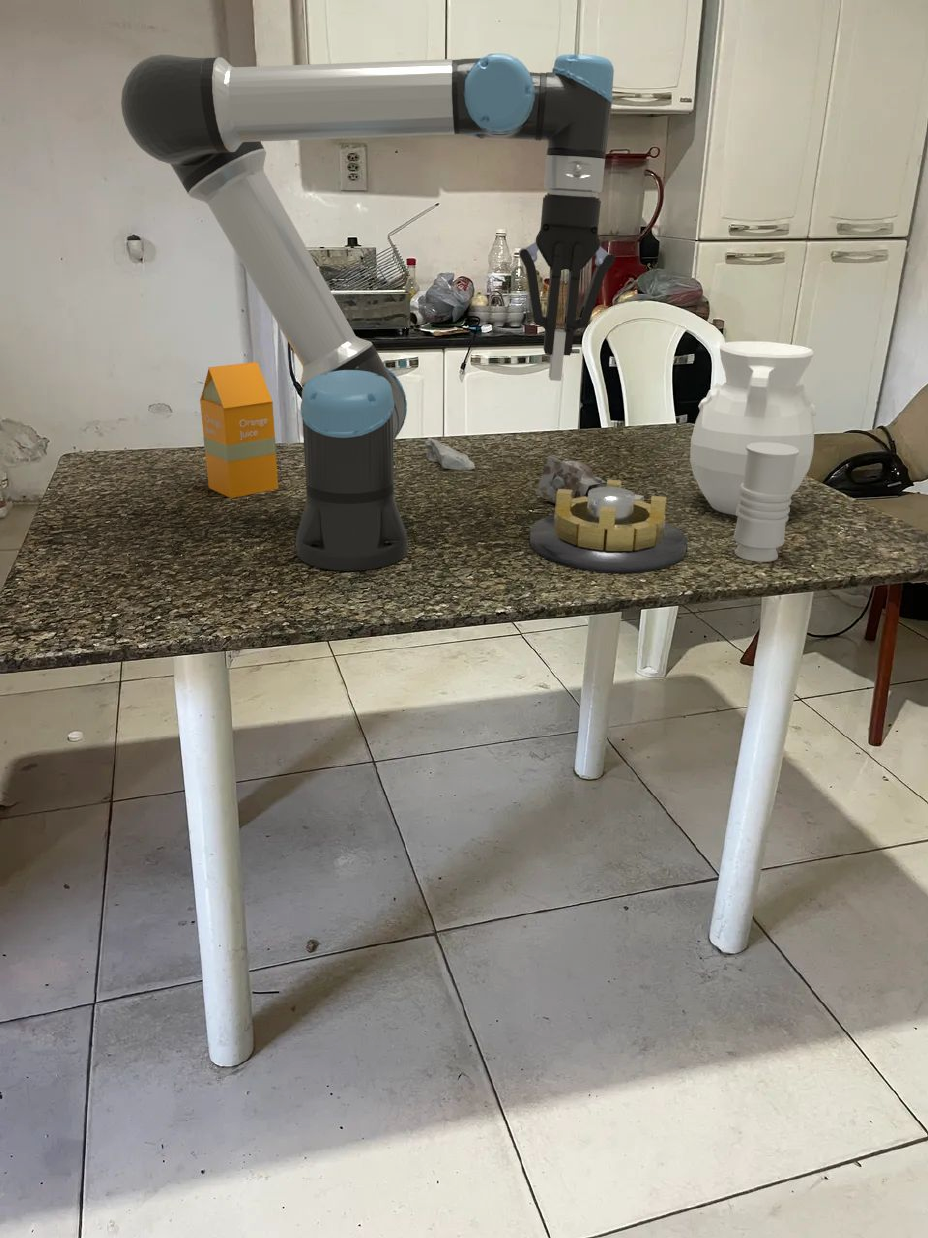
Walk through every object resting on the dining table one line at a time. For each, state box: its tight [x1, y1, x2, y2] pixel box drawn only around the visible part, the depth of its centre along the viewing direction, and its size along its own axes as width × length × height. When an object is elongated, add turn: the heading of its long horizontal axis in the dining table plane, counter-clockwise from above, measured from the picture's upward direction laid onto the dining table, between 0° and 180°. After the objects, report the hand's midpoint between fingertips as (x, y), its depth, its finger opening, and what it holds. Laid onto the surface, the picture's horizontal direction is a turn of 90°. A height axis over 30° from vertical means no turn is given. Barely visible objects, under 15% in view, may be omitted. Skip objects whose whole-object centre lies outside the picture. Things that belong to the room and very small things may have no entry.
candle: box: [733, 442, 799, 563], centre depth 129 cm, size 7×7×15 cm
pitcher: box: [689, 340, 817, 516], centre depth 147 cm, size 19×18×25 cm
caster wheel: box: [535, 455, 608, 505], centre depth 152 cm, size 7×11×10 cm
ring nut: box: [553, 479, 667, 551], centre depth 133 cm, size 15×15×6 cm
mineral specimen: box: [424, 437, 476, 471], centre depth 173 cm, size 6×12×4 cm, turn 20°
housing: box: [529, 487, 688, 574], centre depth 133 cm, size 22×22×8 cm
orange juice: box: [199, 361, 279, 499], centre depth 152 cm, size 8×9×20 cm
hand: (554, 378), depth 133 cm, fingers closed
